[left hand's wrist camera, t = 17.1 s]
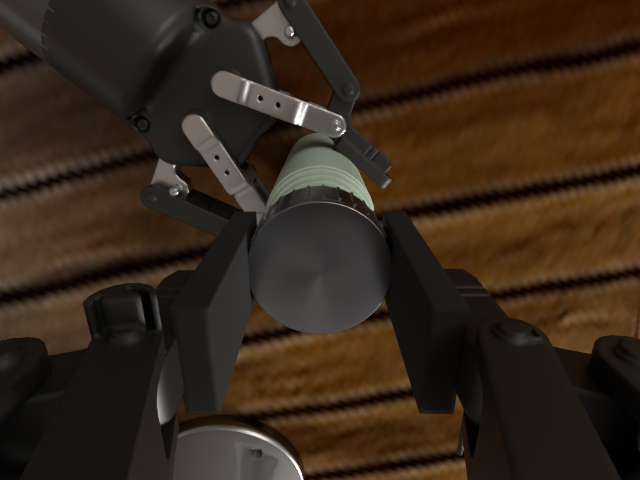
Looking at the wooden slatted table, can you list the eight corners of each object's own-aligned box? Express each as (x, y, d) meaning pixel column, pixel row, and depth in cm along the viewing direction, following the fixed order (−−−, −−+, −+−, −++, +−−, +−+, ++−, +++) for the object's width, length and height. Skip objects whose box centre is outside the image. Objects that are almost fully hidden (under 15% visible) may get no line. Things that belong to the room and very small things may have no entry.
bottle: (364, 176, 29) (418, 283, 13) (309, 209, 30) (298, 347, 14) (330, 119, 28) (345, 163, 12) (274, 155, 29) (216, 242, 13)
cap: (299, 323, 16) (296, 357, 14) (228, 226, 14) (214, 248, 12) (407, 267, 15) (420, 294, 13) (343, 157, 13) (347, 169, 11)
